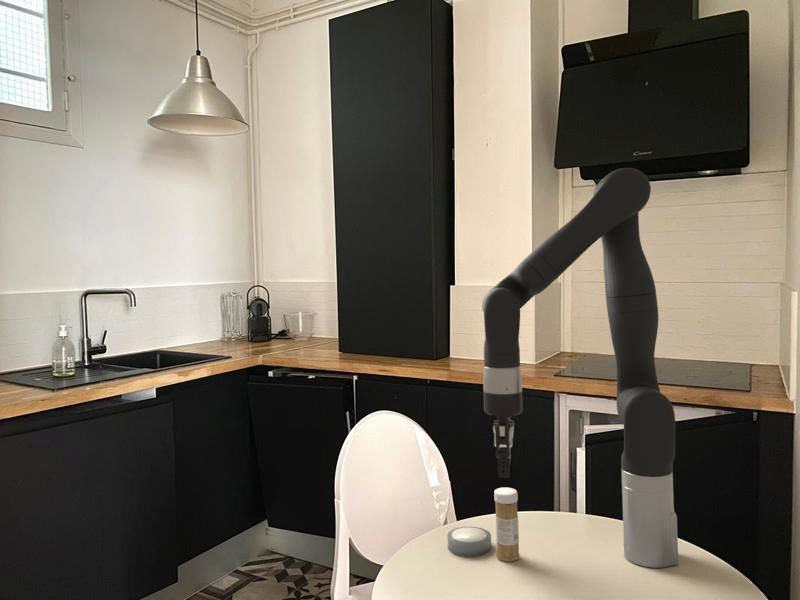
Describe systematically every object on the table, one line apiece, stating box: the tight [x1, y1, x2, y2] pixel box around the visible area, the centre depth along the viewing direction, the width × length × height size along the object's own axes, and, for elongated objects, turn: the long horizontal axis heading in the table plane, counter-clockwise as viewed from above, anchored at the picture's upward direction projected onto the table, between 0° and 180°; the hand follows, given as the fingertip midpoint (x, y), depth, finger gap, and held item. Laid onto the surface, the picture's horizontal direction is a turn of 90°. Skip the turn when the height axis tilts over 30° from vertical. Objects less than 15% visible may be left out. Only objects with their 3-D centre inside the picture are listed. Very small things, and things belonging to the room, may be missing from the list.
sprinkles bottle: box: [493, 487, 520, 563], centre depth 121 cm, size 5×5×14 cm
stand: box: [446, 526, 492, 558], centre depth 127 cm, size 9×9×3 cm
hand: (504, 470), depth 121 cm, fingers open, 8 cm apart
